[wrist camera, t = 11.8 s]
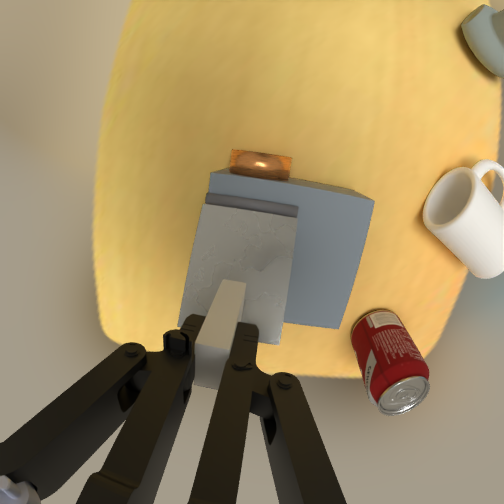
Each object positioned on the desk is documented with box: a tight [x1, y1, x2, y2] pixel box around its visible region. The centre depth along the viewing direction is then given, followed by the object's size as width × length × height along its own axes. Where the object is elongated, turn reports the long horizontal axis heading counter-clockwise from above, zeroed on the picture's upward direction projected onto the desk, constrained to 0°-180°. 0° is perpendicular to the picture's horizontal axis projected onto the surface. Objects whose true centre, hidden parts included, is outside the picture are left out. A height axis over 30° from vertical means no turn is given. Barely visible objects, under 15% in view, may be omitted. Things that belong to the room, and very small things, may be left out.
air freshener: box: [461, 4, 504, 79], centre depth 13 cm, size 11×8×10 cm
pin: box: [229, 149, 292, 181], centre depth 26 cm, size 16×5×5 cm, turn 172°
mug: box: [423, 159, 504, 279], centre depth 22 cm, size 12×10×8 cm
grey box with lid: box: [205, 168, 375, 329], centre depth 26 cm, size 12×13×8 cm
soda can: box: [351, 310, 430, 416], centre depth 26 cm, size 7×7×12 cm
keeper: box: [177, 204, 298, 345], centre depth 20 cm, size 9×7×1 cm
